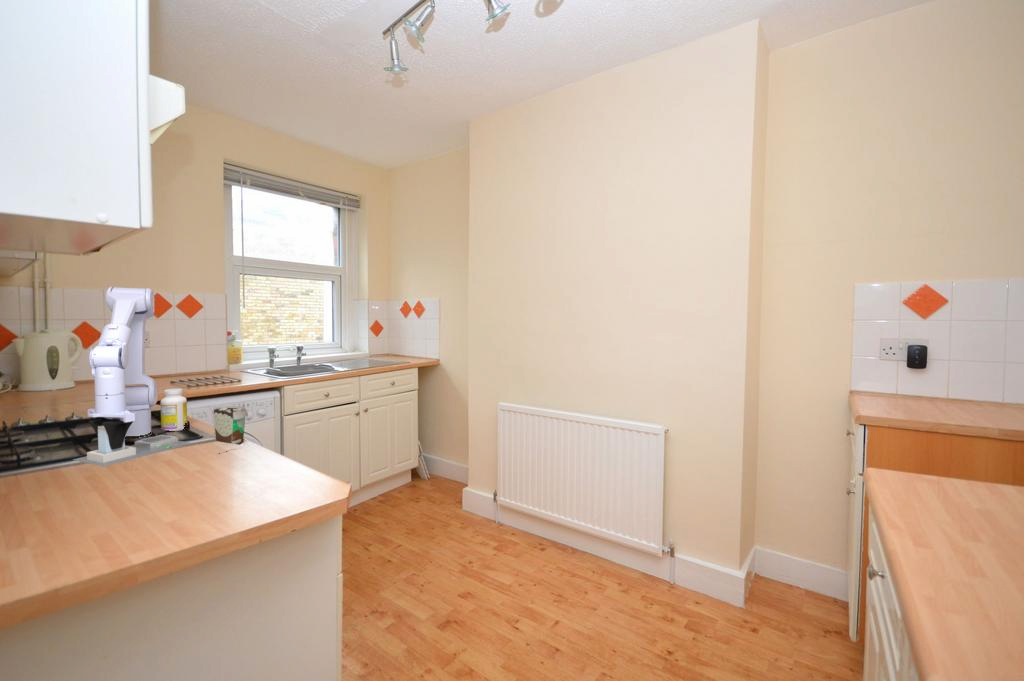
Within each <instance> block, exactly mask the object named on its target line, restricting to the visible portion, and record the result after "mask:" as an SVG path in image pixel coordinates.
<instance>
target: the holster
mask: <svg viewBox="0 0 1024 681" xmlns="http://www.w3.org/2000/svg"><path fill="white" fill-rule="evenodd" d="M130 446H131V445H125V449H124V450H120V451H116V452H112V453H107V454H102V453H99V452H98V449H96V450H90V451H87V452H86V456H87V460H92V461H97V462H102V463H105V462H108V461H112V460H116V459H120V458H124V457H128V456H132V455H136V447H130Z"/></svg>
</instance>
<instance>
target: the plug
mask: <svg viewBox="0 0 1024 681" xmlns="http://www.w3.org/2000/svg"><path fill="white" fill-rule="evenodd" d="M125 441H126V439H124V442H123V446H122V448H118V449H113V450H112V449H111V448H110V445H109V438H108V434H107V431H106V429H105V427H104V426H98V436H97V444H98V445H97V446H98V447H97V448H98V449H97V450H98V452H99V453H102V454H107V453H112V452H116V451H120V450H124V449H125V446H126V442H125Z"/></svg>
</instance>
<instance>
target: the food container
mask: <svg viewBox="0 0 1024 681" xmlns="http://www.w3.org/2000/svg"><path fill="white" fill-rule="evenodd" d="M212 415H213V427H214V441H215V442H219V443H220V442H221V443H224V444H225V443H226V444H232V445H238V446H240V445H242V444H244V438H245V437H244V436H245V425H246V424H245V423H246V417H248V416H249V414H248V410H247V408H246V407H245V406H241V405H220V406H213V407H212Z"/></svg>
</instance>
